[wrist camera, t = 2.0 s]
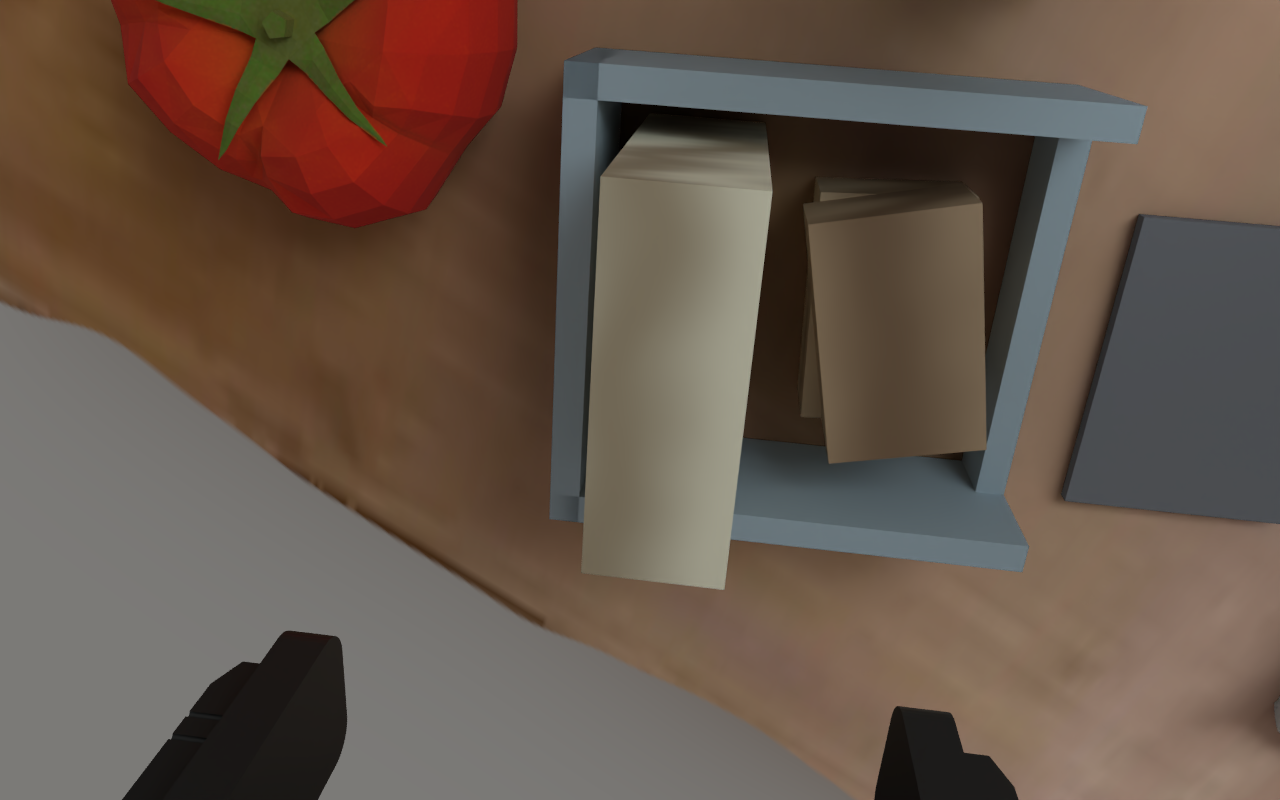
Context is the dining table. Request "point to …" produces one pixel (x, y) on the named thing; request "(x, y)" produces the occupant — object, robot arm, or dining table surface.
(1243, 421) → the mat
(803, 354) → the offcut block lower
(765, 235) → the beige hardcover book
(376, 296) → the dining table surface
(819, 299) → the offcut block upper
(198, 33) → the tomato
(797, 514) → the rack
